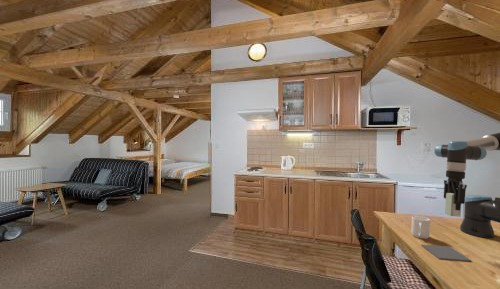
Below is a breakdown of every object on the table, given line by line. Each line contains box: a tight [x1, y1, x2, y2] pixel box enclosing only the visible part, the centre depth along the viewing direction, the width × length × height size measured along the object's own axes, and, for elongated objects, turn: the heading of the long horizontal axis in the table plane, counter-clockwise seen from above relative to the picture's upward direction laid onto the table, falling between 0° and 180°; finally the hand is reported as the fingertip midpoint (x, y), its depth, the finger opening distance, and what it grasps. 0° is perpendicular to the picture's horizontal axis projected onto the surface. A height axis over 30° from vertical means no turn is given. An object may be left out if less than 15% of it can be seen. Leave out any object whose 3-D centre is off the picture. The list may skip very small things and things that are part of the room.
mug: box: [410, 215, 431, 240], centre depth 136 cm, size 9×12×11 cm
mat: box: [420, 244, 472, 262], centre depth 117 cm, size 14×14×1 cm
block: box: [444, 193, 462, 218], centre depth 122 cm, size 4×4×11 cm
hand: (452, 214), depth 122 cm, fingers closed on block, 4 cm apart
